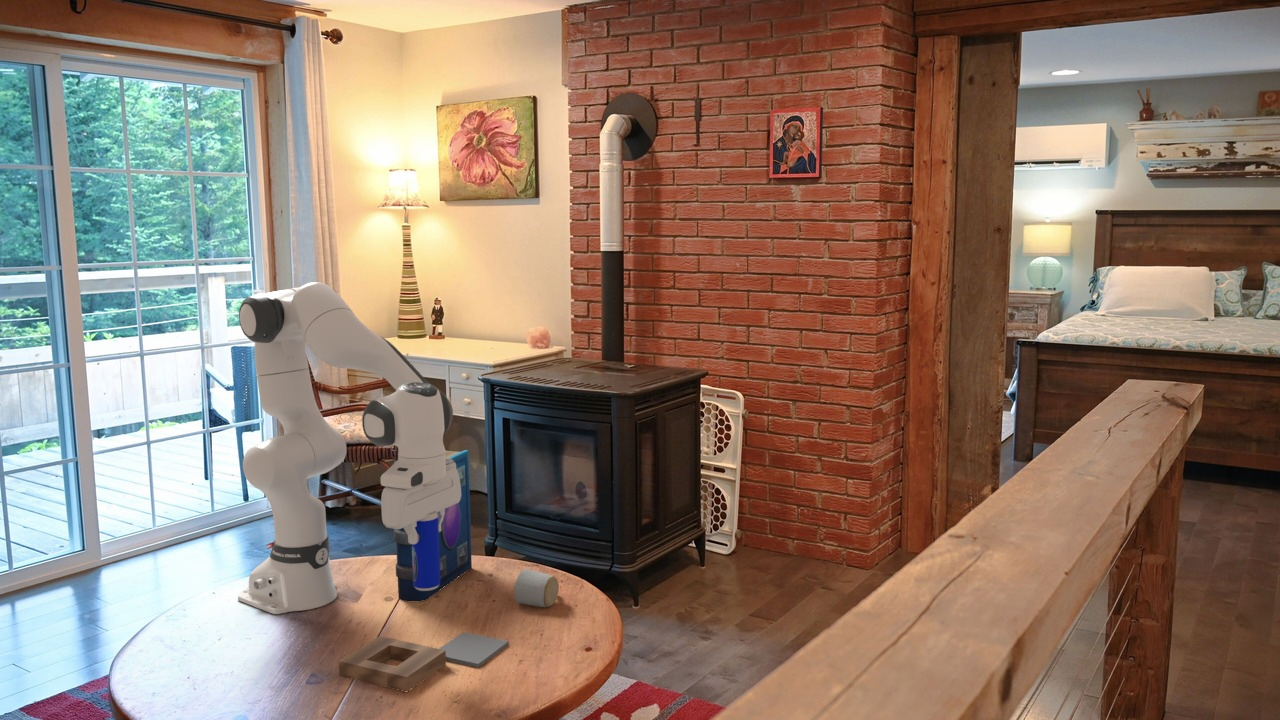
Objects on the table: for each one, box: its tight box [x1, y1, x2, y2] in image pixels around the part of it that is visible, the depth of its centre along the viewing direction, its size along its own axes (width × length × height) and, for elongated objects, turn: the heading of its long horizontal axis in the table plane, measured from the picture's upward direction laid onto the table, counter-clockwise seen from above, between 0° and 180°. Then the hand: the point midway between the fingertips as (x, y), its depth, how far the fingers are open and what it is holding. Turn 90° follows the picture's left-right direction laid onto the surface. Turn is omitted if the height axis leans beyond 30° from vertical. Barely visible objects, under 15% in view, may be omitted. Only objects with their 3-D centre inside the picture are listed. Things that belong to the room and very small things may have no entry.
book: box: [393, 449, 473, 602], centre depth 226 cm, size 24×9×30 cm, turn 161°
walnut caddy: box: [338, 635, 447, 692], centre depth 184 cm, size 16×12×3 cm
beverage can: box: [412, 511, 440, 591], centre depth 185 cm, size 5×5×15 cm
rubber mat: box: [438, 631, 510, 669], centre depth 193 cm, size 11×11×1 cm
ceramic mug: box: [513, 568, 560, 608], centre depth 217 cm, size 11×8×8 cm
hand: (425, 537), depth 185 cm, fingers closed on beverage can, 5 cm apart
